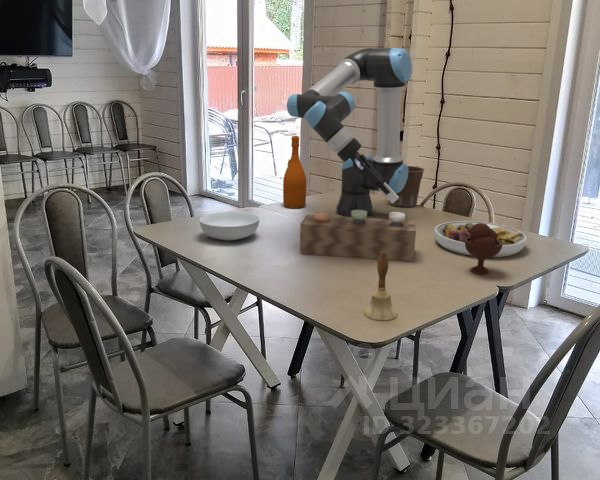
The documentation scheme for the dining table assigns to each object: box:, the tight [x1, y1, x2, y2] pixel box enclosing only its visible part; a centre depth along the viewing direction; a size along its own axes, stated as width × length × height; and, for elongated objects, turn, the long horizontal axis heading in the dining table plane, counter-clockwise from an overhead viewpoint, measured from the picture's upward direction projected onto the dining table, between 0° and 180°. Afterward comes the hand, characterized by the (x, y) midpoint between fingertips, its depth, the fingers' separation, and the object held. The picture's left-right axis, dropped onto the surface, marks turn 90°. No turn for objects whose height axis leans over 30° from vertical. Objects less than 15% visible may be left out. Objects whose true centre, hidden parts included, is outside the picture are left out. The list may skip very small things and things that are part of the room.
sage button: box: [351, 210, 368, 224], centre depth 184 cm, size 5×5×6 cm
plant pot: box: [388, 165, 425, 208], centre depth 250 cm, size 16×16×16 cm
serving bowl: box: [198, 210, 260, 242], centre depth 200 cm, size 21×21×7 cm
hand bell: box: [363, 252, 398, 322], centre depth 139 cm, size 8×8×16 cm
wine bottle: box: [282, 135, 307, 209], centre depth 241 cm, size 10×10×30 cm
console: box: [299, 214, 417, 263], centre depth 185 cm, size 36×12×10 cm, turn 80°
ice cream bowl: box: [465, 223, 503, 276], centre depth 169 cm, size 11×11×15 cm
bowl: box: [434, 220, 527, 258], centre depth 195 cm, size 30×30×8 cm
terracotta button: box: [313, 211, 331, 222], centre depth 186 cm, size 5×5×6 cm
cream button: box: [388, 211, 406, 227], centre depth 182 cm, size 5×5×6 cm
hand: (395, 200), depth 180 cm, fingers closed
